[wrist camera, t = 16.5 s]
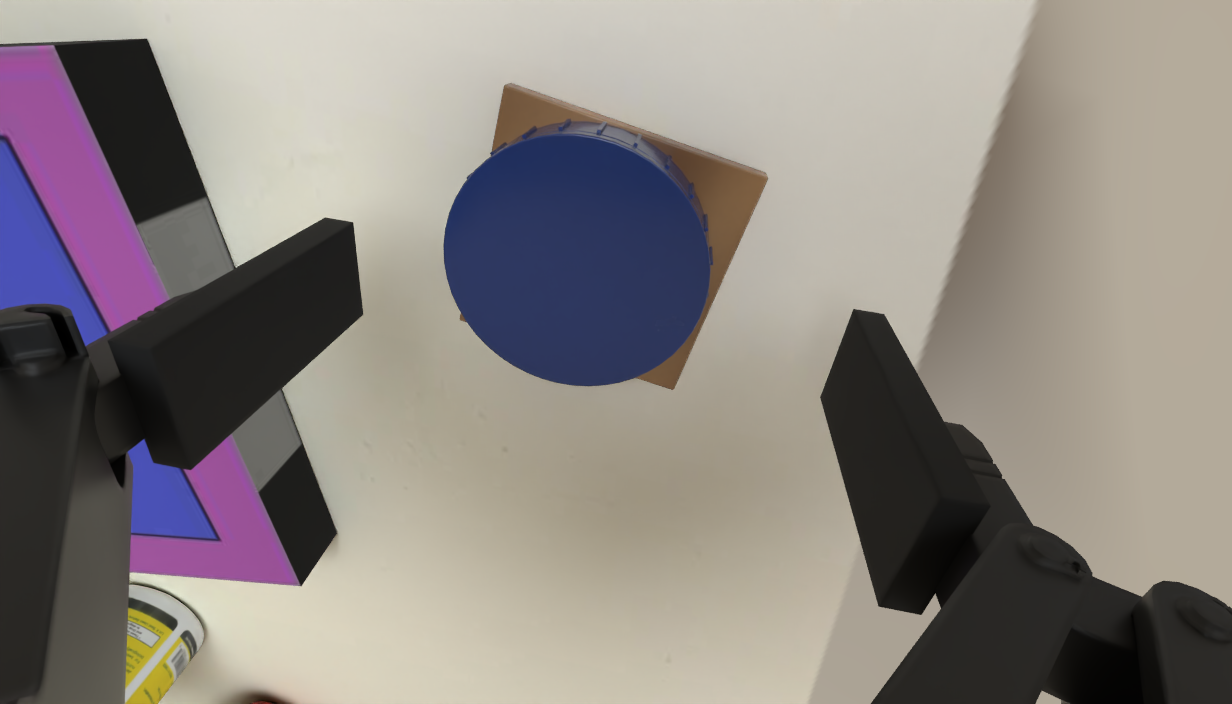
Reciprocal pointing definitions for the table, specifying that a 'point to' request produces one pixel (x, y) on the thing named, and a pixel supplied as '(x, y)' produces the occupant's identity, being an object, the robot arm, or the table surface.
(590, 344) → the lid
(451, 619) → the table surface
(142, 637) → the pill bottle
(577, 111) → the cork mat
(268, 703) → the pomegranate
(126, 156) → the book
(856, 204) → the table surface
